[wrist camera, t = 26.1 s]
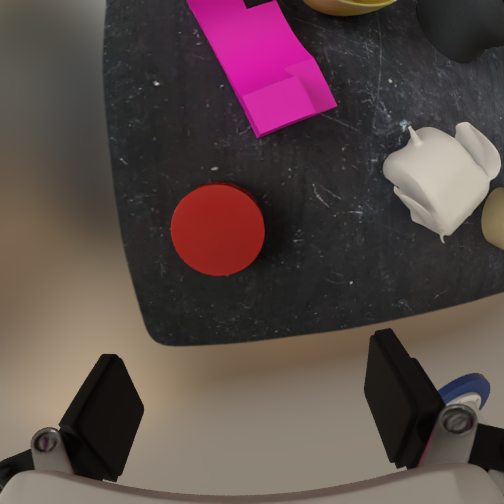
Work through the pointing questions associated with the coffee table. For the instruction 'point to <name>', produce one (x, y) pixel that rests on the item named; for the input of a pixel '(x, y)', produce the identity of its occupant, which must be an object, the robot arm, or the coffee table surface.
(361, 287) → the coffee table surface
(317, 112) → the toy block
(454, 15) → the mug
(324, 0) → the yellow bowl
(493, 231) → the jar
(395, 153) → the elephant figurine
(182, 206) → the lid
